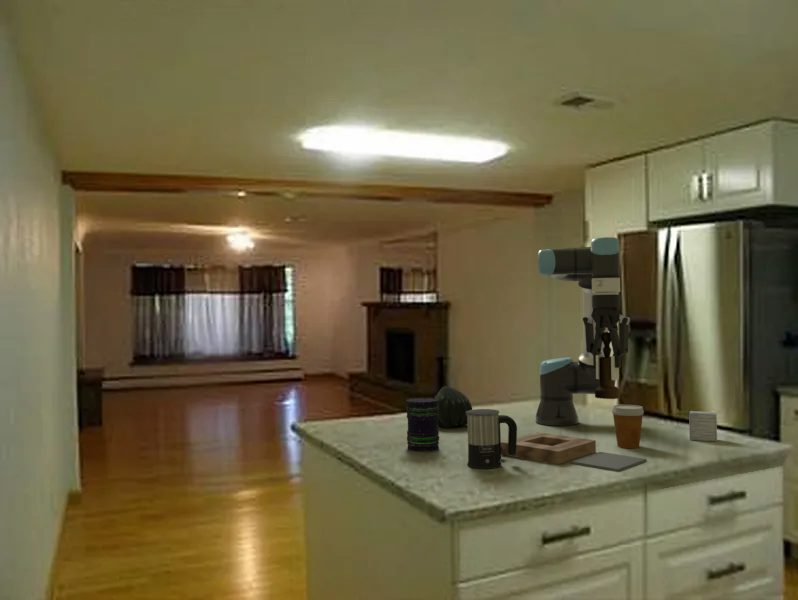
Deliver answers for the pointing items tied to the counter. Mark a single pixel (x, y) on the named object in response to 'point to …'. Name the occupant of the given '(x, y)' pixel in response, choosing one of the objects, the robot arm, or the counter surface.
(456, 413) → the squash
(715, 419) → the medicine box
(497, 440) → the milk frother
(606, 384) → the wooden pepper mill
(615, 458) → the mat
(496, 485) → the counter surface
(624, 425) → the disposable coffee cup
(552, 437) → the collar block
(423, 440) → the storage jar
